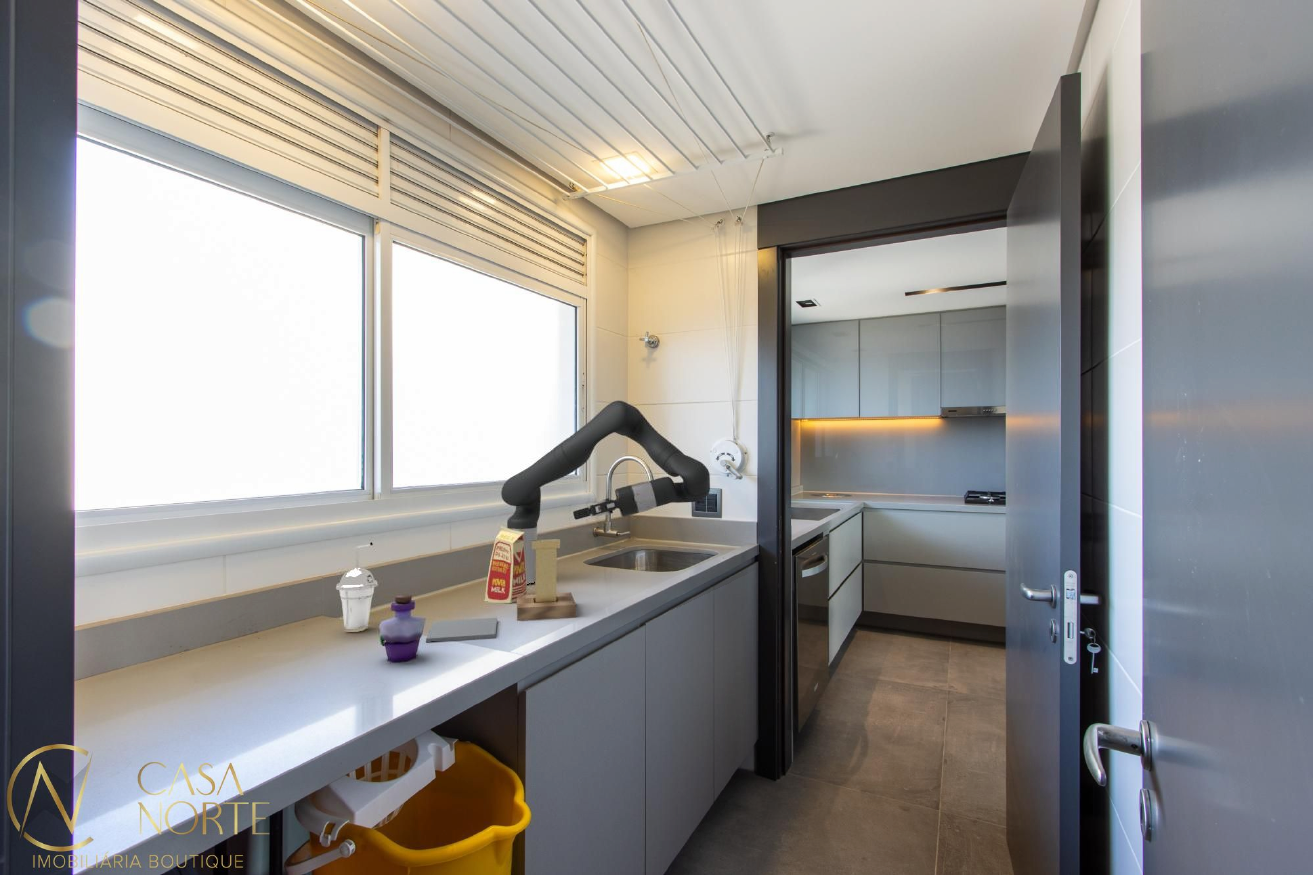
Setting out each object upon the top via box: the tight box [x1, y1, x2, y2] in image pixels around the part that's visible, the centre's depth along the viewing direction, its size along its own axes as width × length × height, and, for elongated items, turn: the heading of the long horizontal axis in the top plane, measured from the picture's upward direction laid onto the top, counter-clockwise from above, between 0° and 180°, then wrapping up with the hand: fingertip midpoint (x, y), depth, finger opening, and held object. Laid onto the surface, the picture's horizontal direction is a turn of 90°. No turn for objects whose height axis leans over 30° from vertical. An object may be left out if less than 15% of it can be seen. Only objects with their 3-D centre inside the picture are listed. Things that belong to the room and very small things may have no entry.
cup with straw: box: [335, 541, 379, 629], centre depth 134 cm, size 8×9×20 cm
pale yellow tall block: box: [532, 538, 561, 603], centre depth 151 cm, size 7×5×18 cm
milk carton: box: [484, 525, 528, 604], centre depth 165 cm, size 9×9×20 cm
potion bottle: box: [378, 594, 427, 664], centre depth 115 cm, size 9×9×12 cm
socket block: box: [516, 592, 577, 622], centre depth 150 cm, size 14×14×3 cm
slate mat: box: [425, 617, 498, 643], centre depth 133 cm, size 14×14×1 cm
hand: (574, 515), depth 152 cm, fingers open, 8 cm apart
